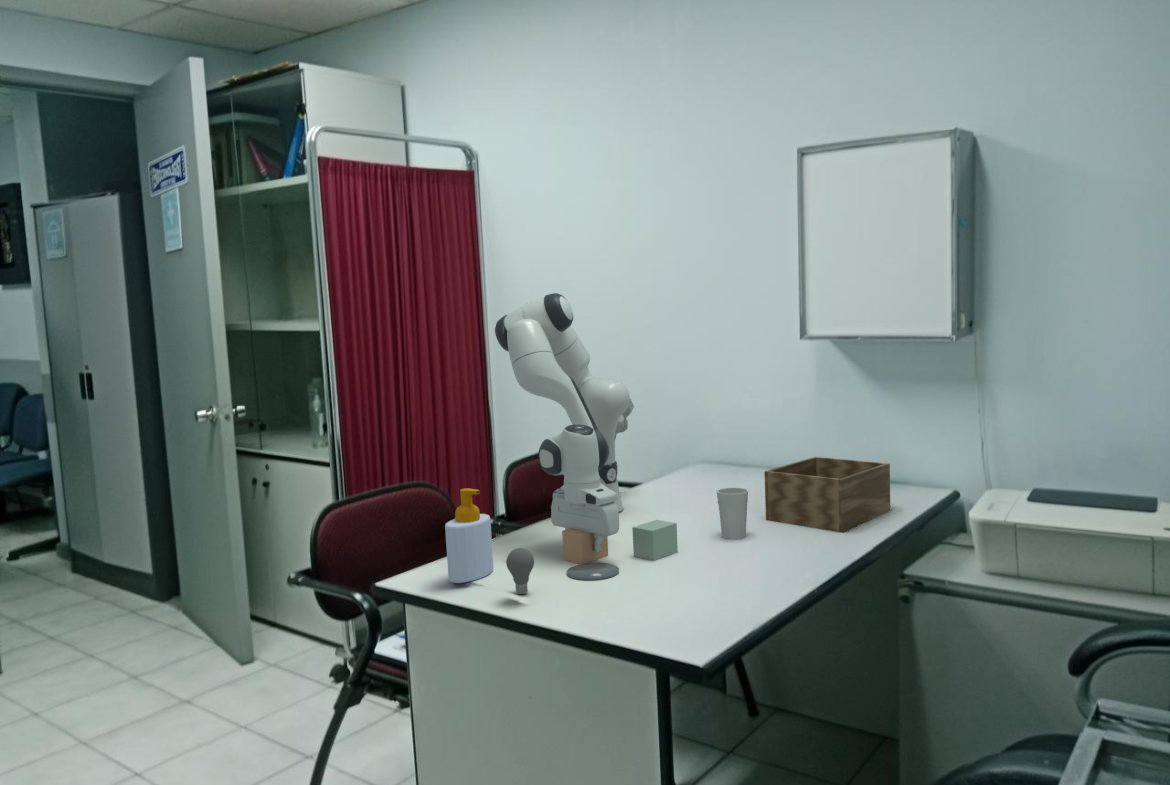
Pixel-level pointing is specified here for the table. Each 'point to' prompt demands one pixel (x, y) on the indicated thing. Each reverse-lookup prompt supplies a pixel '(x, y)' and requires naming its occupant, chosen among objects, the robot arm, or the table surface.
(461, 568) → the soap bottle
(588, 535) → the peach smooth rectangular block
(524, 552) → the light bulb
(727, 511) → the cup
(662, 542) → the pale green upright block
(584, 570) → the slate coaster
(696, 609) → the table surface
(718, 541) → the table surface
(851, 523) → the walnut planter box
